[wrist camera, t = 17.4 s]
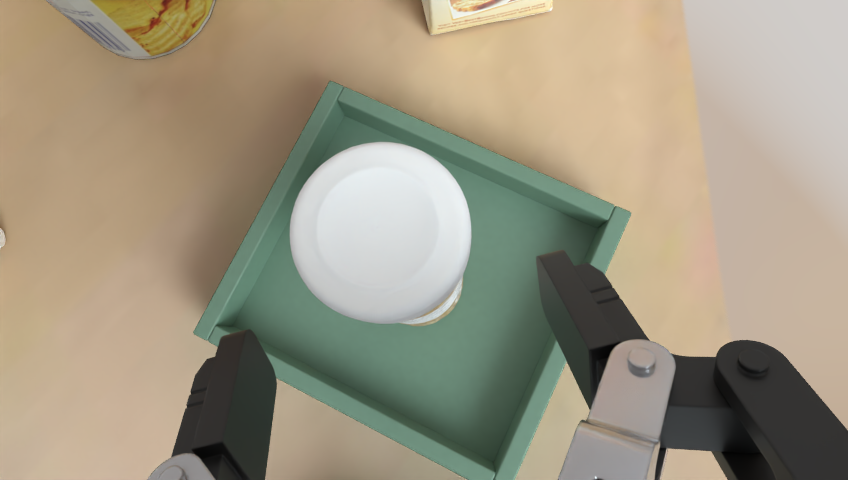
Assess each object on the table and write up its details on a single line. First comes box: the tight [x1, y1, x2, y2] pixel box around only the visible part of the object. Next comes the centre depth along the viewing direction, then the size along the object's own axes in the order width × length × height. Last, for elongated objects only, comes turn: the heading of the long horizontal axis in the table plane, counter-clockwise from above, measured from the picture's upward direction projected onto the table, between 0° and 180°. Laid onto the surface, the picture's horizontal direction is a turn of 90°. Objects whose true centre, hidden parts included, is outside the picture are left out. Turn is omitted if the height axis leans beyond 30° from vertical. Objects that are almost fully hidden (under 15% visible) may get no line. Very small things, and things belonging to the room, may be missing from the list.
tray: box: [193, 81, 631, 480], centre depth 25 cm, size 16×14×3 cm
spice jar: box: [290, 142, 472, 326], centre depth 19 cm, size 5×4×13 cm
